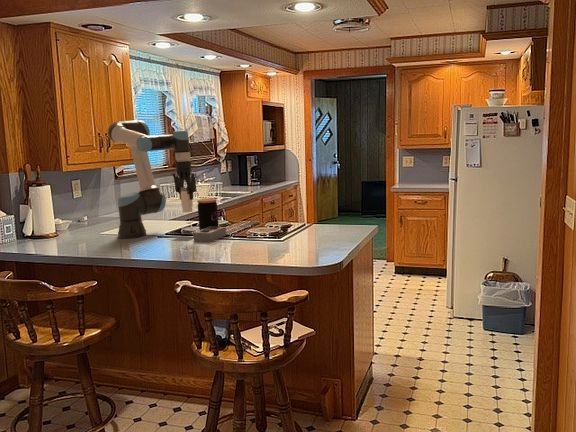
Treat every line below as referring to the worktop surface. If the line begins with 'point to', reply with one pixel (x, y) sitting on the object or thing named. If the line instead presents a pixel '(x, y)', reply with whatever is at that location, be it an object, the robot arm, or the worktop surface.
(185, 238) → the deck mat
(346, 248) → the worktop surface
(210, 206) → the coffee jar
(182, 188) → the plug
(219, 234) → the socket box
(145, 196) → the robot arm
